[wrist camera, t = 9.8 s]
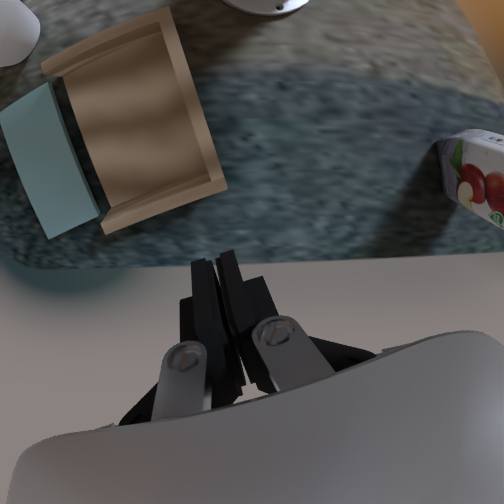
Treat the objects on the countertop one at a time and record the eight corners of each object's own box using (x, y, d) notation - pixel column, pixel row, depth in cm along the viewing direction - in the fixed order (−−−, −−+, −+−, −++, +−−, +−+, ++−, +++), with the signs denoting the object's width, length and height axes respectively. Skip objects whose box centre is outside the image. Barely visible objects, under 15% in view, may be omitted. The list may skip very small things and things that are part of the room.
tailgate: (51, 82, 25) (2, 113, 24) (47, 82, 24) (-3, 113, 23) (100, 212, 33) (51, 235, 32) (98, 216, 31) (48, 239, 31)
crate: (63, 68, 25) (40, 63, 20) (171, 21, 25) (168, 5, 20) (117, 214, 34) (105, 234, 28) (221, 174, 34) (228, 189, 29)
